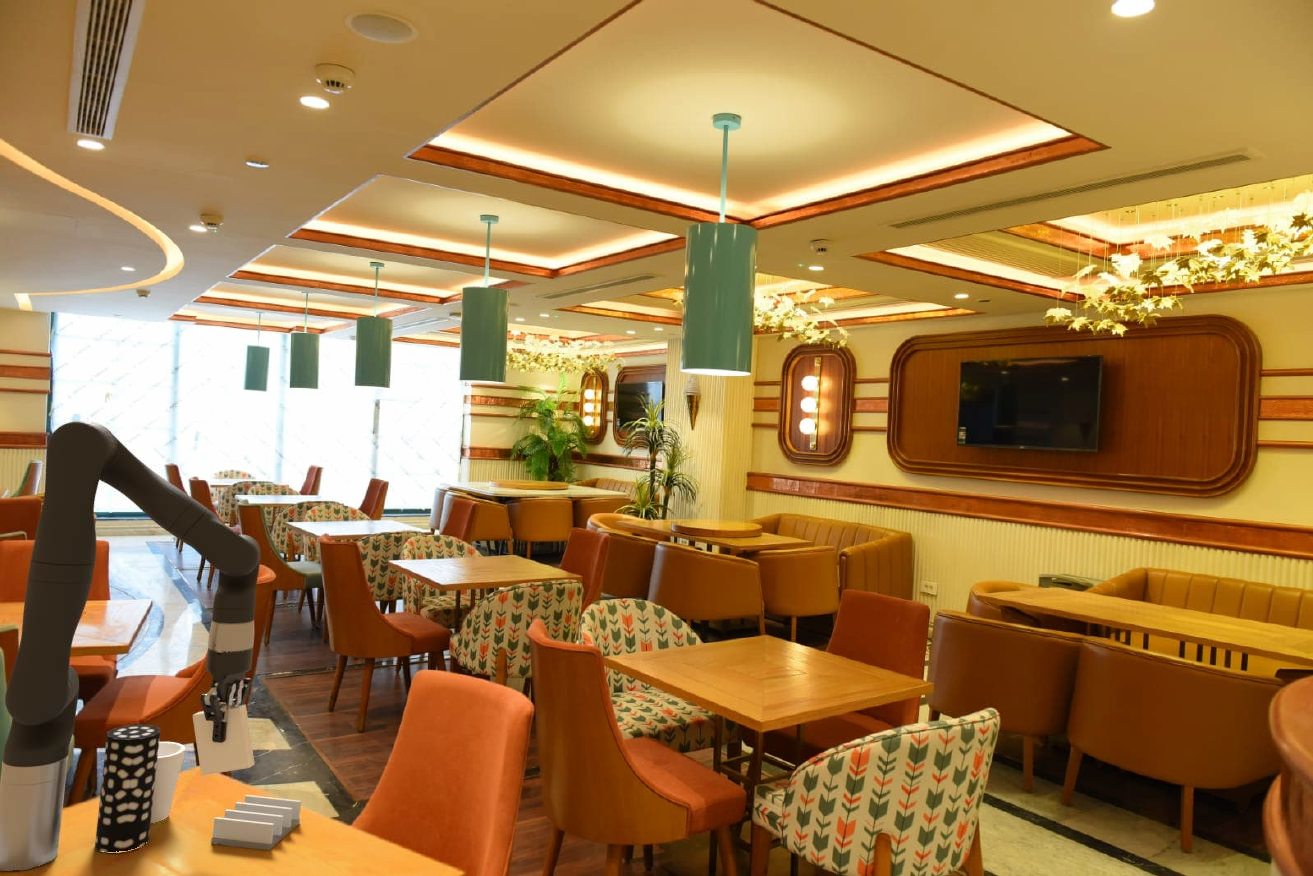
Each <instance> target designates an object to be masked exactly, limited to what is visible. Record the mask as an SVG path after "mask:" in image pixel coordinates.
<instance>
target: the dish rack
mask: <svg viewBox="0 0 1313 876" xmlns="http://www.w3.org/2000/svg"><path fill="white" fill-rule="evenodd" d="M301 804H302V800H297V799H290V798H287V799H286V798H279V797H278V798H277V797H268V796H260V795H252V794H251V795H250V794H245V796H244V802H242V801H236V802H235V803H234V809H228V808H227V809H226V810H224V817H218V816H216V817H214V820H213V829H212V837H211V839H210V844H211V843H213V844H212V845H218V844H221V845H220V846H228V847H237V848H243V849H244V848H246V849H254V850H261V851H262V850H264V851H270V850H272V849H273V847H275V846H276V845H277V844H278V843H279V842H280V841H281V840H283V839H284V838H285V837H286V836H287V835H288V834H289V833H290V832H291V831H292V830H294V829H295V828H296V827H297V826H298V825H299V824H300V821H301V820H300V819H301V818H300V813H301V806H302V805H301ZM215 843H216V844H215Z"/></svg>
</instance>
